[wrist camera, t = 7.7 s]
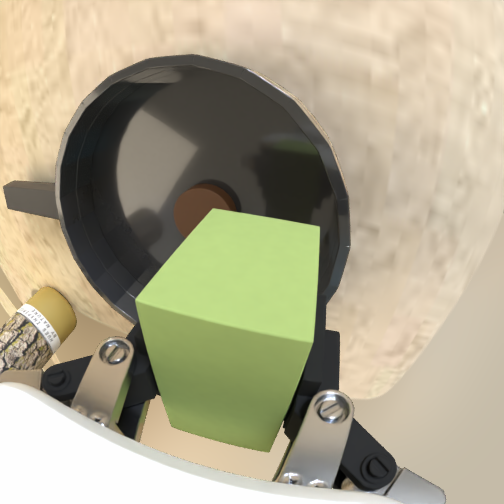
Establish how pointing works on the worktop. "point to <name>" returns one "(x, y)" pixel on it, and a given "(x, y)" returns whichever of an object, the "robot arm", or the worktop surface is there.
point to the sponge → (233, 325)
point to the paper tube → (36, 331)
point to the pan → (190, 168)
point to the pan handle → (32, 198)
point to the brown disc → (199, 206)
